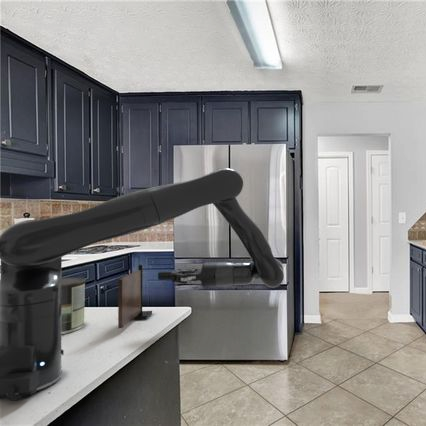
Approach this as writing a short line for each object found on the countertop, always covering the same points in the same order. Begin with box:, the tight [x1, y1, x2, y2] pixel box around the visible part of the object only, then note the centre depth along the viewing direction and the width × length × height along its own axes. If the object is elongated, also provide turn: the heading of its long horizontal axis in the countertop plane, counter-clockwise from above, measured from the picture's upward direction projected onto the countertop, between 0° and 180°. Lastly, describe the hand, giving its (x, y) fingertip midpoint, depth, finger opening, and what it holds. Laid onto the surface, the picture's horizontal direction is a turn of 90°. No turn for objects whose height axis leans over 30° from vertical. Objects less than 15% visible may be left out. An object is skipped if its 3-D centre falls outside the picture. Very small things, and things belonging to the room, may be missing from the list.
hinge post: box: [132, 264, 153, 321], centre depth 98 cm, size 5×6×17 cm
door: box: [117, 269, 141, 329], centre depth 92 cm, size 13×1×14 cm, turn 10°
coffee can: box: [61, 277, 86, 335], centre depth 88 cm, size 10×10×14 cm
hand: (158, 275), depth 90 cm, fingers closed
